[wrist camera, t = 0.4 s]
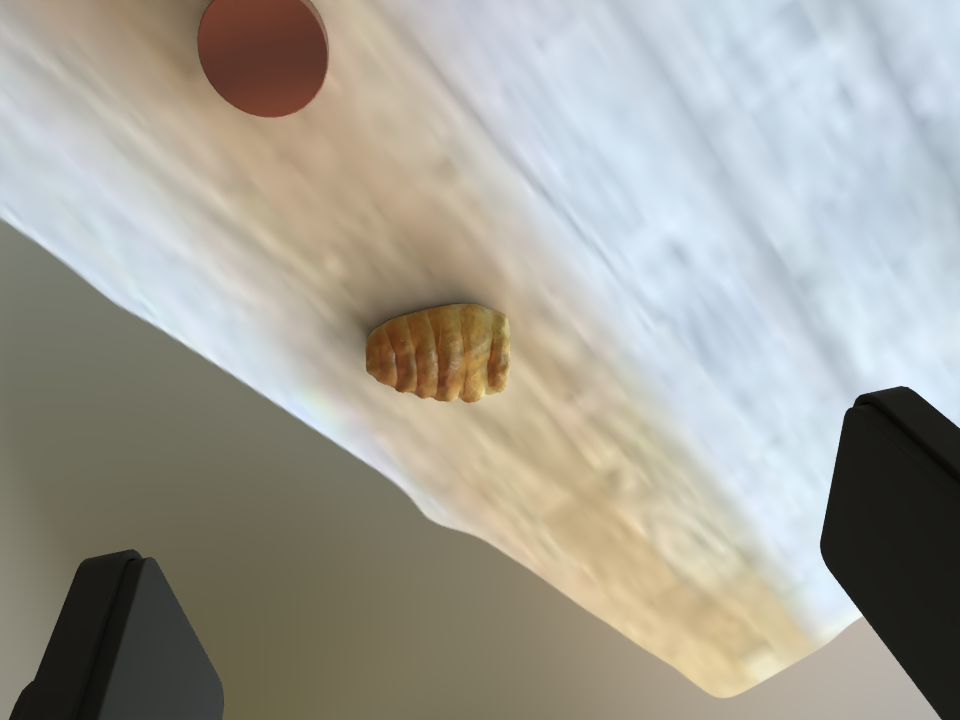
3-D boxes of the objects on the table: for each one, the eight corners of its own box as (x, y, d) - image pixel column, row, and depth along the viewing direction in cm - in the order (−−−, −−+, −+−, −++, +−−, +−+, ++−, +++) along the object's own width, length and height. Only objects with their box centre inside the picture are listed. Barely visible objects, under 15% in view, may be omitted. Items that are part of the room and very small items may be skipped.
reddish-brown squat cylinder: (188, -12, 35) (177, -6, 32) (311, -33, 35) (310, -28, 33) (229, 113, 38) (221, 127, 36) (340, 92, 39) (341, 106, 36)
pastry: (366, 388, 49) (368, 422, 46) (363, 299, 45) (365, 329, 42) (501, 381, 51) (512, 413, 47) (508, 295, 47) (521, 323, 44)
